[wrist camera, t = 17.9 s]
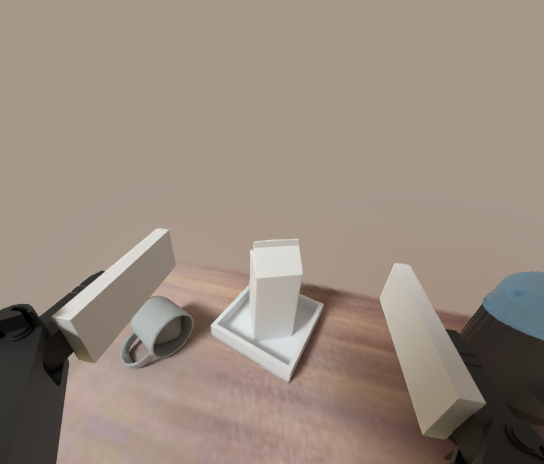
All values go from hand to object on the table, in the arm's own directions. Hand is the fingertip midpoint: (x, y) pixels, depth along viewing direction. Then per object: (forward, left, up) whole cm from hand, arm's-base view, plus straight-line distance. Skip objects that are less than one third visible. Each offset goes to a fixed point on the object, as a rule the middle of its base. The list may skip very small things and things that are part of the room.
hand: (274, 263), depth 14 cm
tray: (+8, -17, -30) cm, 35 cm away
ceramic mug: (+22, -3, -30) cm, 38 cm away
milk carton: (+8, -17, -30) cm, 35 cm away
